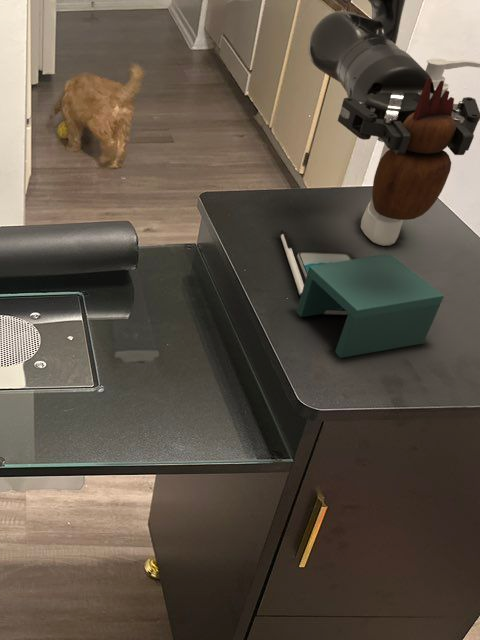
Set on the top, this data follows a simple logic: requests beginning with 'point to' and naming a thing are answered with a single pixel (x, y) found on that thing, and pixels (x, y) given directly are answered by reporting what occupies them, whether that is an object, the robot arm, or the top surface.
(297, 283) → the pen
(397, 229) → the soap bottle
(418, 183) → the wooden figurine
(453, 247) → the top surface
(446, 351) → the top surface
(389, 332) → the shelf
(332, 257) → the smartphone
